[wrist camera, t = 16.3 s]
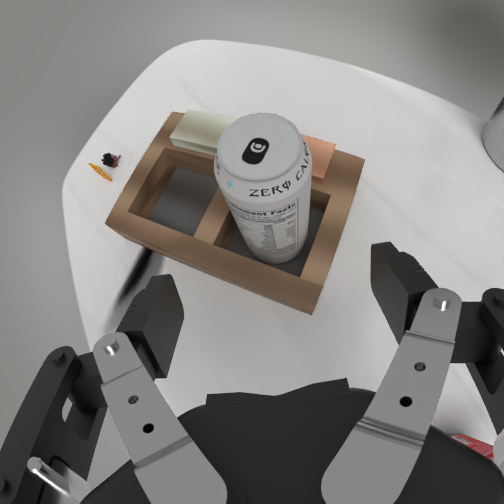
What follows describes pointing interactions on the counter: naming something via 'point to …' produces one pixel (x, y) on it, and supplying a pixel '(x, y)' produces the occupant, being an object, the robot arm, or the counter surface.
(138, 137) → the counter surface
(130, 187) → the socket block
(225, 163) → the energy drink can
